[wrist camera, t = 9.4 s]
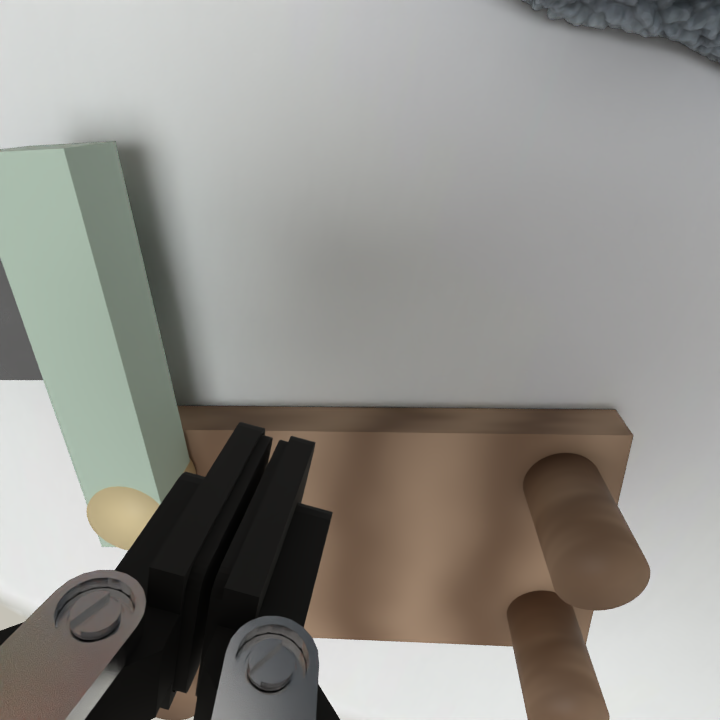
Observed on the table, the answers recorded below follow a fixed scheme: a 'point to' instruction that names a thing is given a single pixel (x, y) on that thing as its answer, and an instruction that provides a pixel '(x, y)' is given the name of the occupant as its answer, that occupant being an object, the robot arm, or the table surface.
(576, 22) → the koala plush
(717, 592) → the table surface
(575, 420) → the stool seat
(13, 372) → the block
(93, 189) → the folding leg
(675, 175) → the table surface
